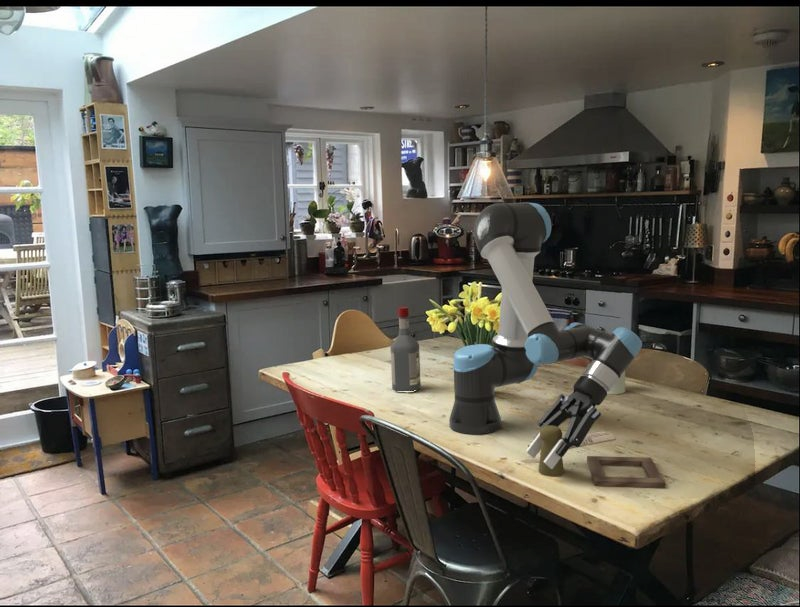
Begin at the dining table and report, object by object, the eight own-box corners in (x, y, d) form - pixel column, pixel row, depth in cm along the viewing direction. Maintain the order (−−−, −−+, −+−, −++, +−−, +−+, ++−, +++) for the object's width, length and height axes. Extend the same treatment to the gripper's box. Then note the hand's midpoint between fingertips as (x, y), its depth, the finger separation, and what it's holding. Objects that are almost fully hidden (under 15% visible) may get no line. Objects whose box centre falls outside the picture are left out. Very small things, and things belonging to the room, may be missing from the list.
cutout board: (594, 485, 143) (594, 480, 143) (586, 460, 158) (586, 455, 158) (665, 488, 141) (665, 482, 140) (650, 462, 155) (650, 457, 155)
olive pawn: (546, 478, 149) (545, 432, 147) (533, 468, 154) (533, 424, 153) (569, 474, 150) (568, 429, 149) (556, 465, 156) (556, 421, 154)
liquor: (390, 392, 227) (387, 309, 224) (398, 386, 236) (394, 305, 232) (415, 393, 225) (412, 309, 221) (422, 387, 233) (419, 305, 229)
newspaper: (600, 435, 177) (600, 429, 177) (618, 443, 171) (618, 437, 171) (527, 449, 169) (527, 442, 169) (542, 458, 163) (542, 451, 162)
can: (625, 395, 213) (625, 359, 211) (596, 393, 216) (596, 358, 214) (625, 387, 221) (625, 353, 220) (597, 386, 224) (597, 353, 223)
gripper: (632, 403, 146) (573, 484, 143) (578, 384, 165) (525, 455, 161) (613, 383, 144) (553, 465, 140) (561, 366, 162) (506, 438, 158)
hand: (538, 459), depth 151 cm, fingers open, 7 cm apart
